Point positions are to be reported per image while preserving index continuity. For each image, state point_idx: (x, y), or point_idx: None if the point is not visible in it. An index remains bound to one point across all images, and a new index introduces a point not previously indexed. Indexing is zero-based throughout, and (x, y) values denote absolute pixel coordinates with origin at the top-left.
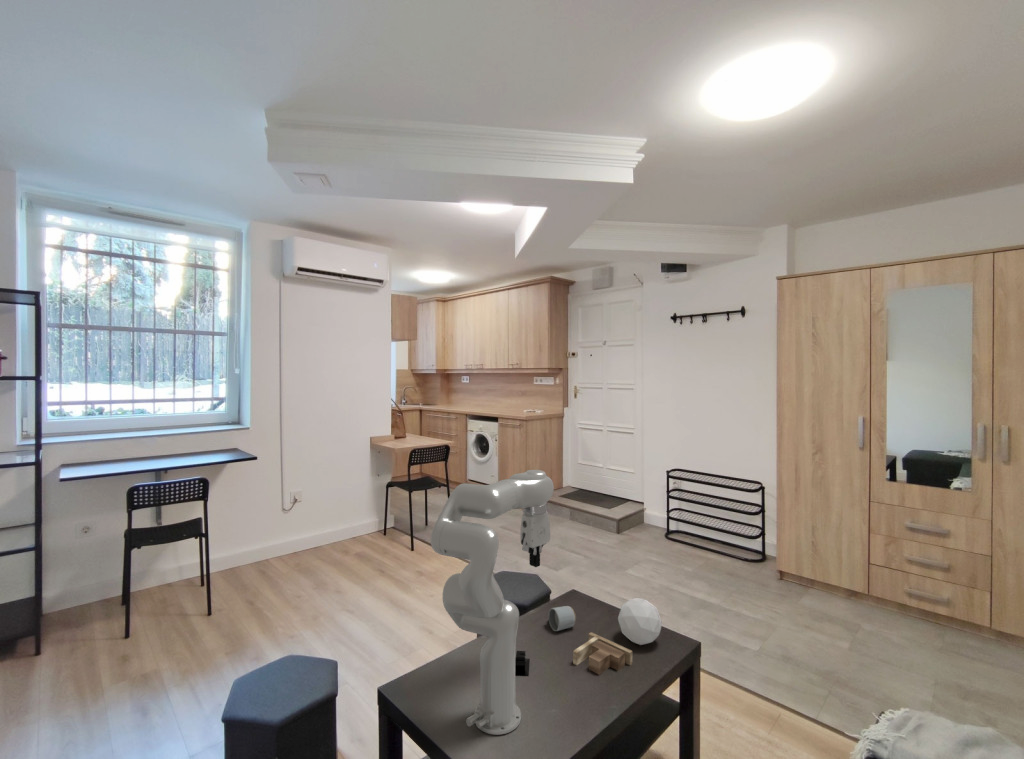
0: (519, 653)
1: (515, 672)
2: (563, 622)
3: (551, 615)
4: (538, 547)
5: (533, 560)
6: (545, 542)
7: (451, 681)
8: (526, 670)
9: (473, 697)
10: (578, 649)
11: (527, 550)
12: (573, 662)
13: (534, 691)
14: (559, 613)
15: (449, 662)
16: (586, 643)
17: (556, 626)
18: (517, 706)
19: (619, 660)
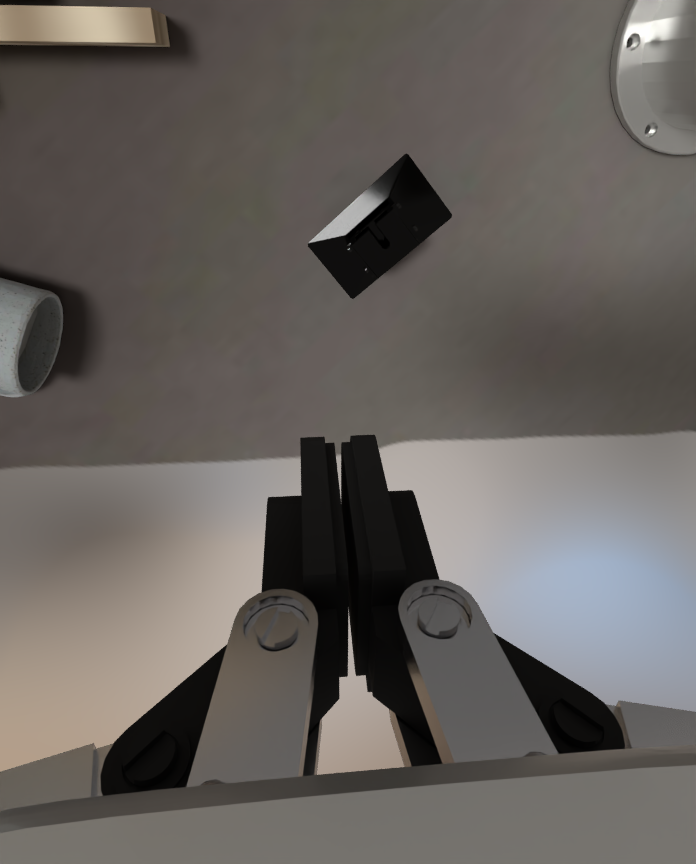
0: (386, 252)
1: (426, 214)
2: (11, 288)
3: (22, 379)
4: (306, 726)
5: (422, 527)
6: (140, 837)
7: (604, 345)
8: (386, 187)
9: (640, 222)
10: (117, 25)
11: (676, 724)
12: (168, 43)
13: (475, 46)
14: (5, 327)
15: (525, 426)
16: (26, 29)
17: (31, 331)
18: (637, 4)
19: None
